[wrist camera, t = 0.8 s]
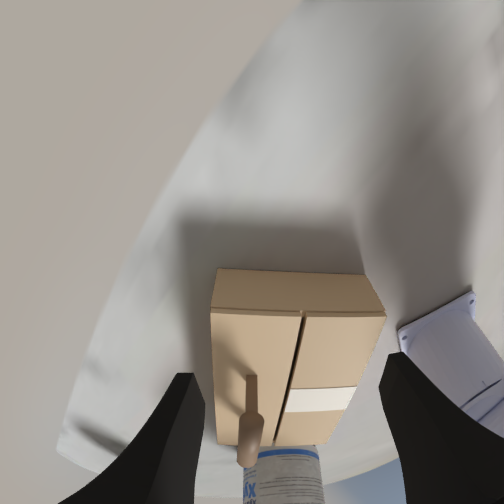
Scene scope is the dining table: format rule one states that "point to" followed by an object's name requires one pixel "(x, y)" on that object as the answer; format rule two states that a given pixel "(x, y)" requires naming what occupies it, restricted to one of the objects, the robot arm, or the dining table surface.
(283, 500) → the supplement tub
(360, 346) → the carton
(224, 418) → the far flap
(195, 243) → the dining table surface
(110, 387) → the dining table surface
